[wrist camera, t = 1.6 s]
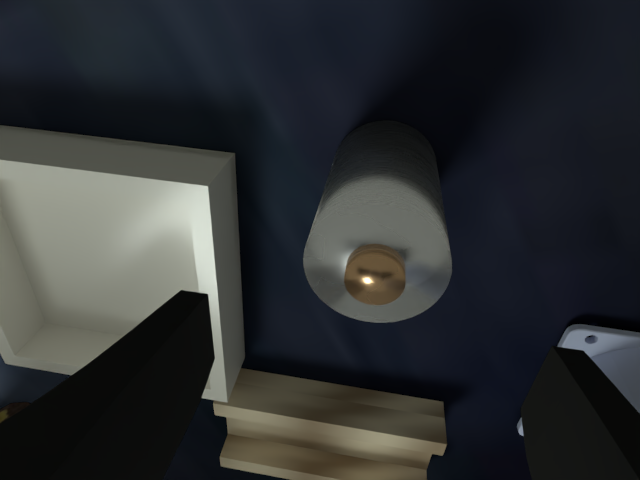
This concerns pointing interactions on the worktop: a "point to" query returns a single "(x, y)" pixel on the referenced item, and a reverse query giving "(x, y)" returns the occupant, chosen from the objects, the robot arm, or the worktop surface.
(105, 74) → the worktop surface
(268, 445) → the trough
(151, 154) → the dish
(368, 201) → the cylinder
